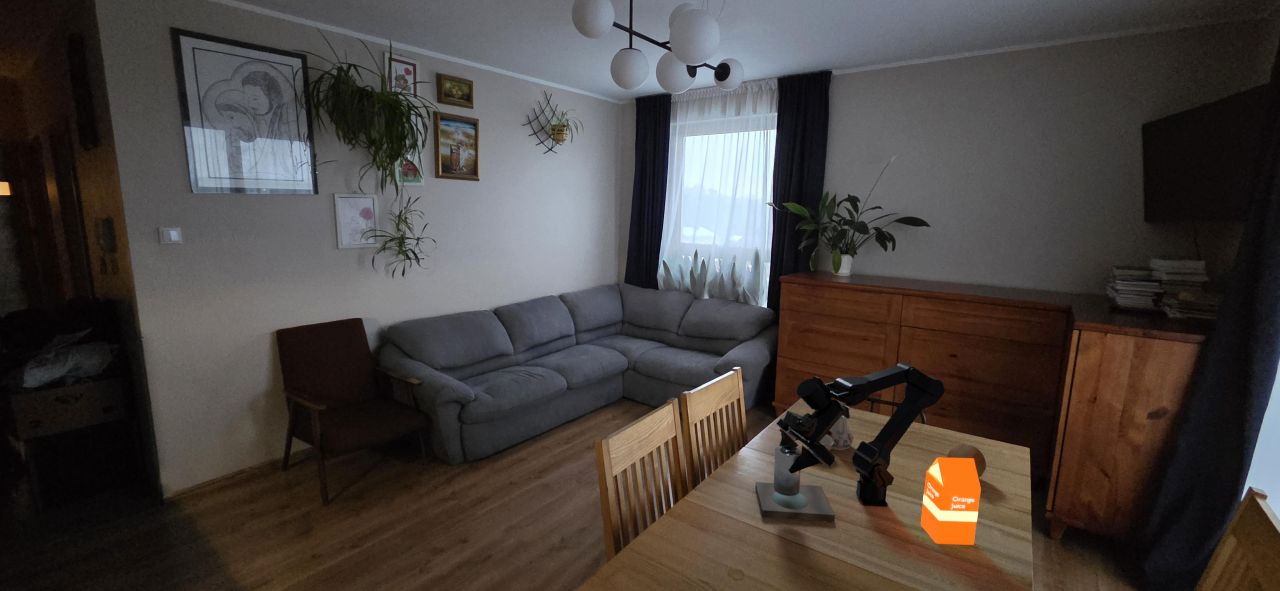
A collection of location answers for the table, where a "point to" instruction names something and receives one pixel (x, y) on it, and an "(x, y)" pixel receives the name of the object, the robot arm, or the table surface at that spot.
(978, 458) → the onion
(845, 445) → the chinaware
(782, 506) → the walnut board
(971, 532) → the orange juice
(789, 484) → the silver metal cylinder
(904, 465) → the table surface
